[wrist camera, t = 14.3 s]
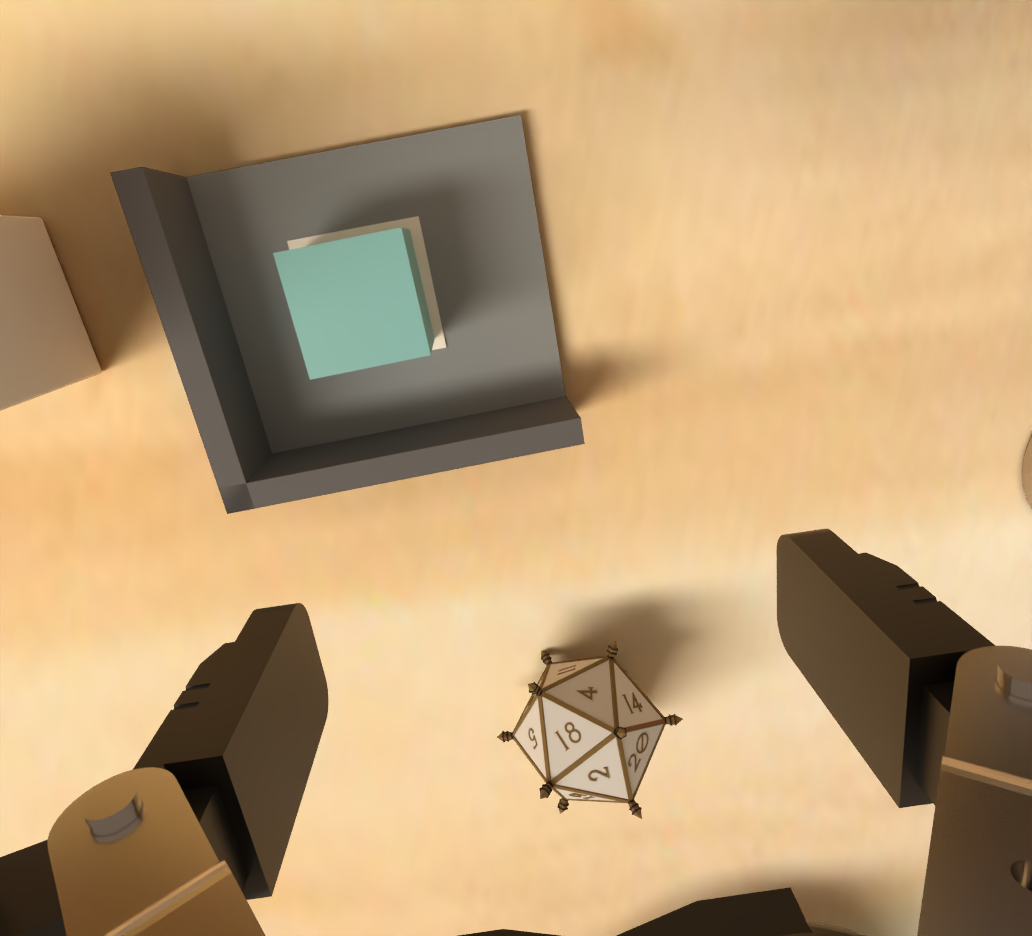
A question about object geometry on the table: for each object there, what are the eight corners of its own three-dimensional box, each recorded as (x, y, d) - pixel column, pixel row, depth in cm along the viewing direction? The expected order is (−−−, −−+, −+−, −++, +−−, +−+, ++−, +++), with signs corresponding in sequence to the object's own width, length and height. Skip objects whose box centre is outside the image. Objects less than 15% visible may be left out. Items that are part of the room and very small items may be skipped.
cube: (409, 229, 31) (401, 227, 26) (434, 338, 33) (430, 355, 28) (301, 251, 31) (272, 253, 26) (331, 359, 33) (309, 379, 28)
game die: (563, 619, 43) (626, 599, 34) (654, 725, 43) (743, 734, 33) (456, 723, 40) (495, 731, 31) (553, 840, 39) (622, 884, 30)
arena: (519, 117, 31) (530, 94, 26) (567, 416, 35) (584, 443, 30) (164, 183, 30) (110, 172, 26) (258, 476, 35) (227, 513, 30)
